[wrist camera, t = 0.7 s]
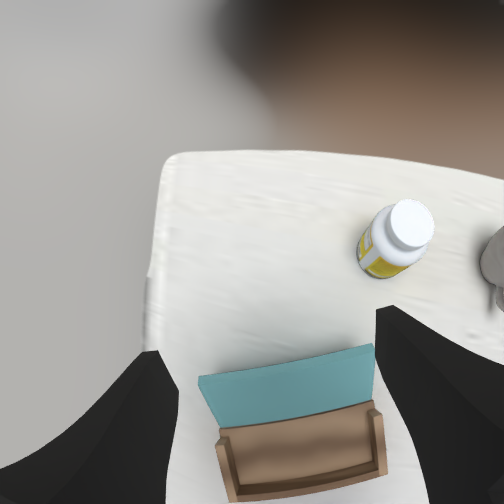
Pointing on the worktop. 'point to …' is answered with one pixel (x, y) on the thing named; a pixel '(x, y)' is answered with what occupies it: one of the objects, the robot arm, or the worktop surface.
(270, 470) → the wooden box
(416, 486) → the worktop surface
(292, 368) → the teal box lid
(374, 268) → the pill bottle
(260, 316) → the worktop surface
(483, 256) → the mug
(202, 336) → the worktop surface
